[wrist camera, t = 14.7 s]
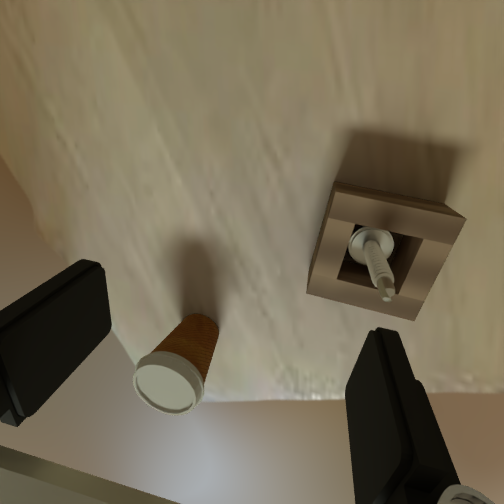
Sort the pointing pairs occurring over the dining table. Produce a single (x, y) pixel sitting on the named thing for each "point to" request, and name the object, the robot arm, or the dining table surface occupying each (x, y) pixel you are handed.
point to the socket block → (405, 260)
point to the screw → (374, 257)
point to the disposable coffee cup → (178, 367)
